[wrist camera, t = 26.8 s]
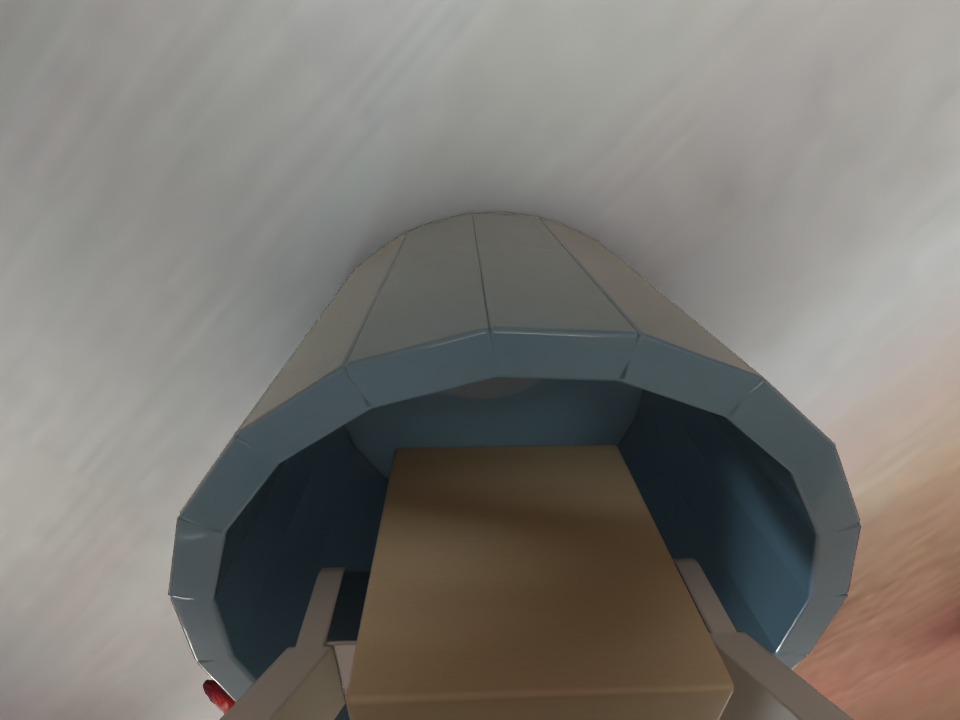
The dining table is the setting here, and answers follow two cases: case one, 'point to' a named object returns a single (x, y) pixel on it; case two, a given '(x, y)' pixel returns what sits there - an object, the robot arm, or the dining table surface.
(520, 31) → the dining table surface
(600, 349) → the canister
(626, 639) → the block
